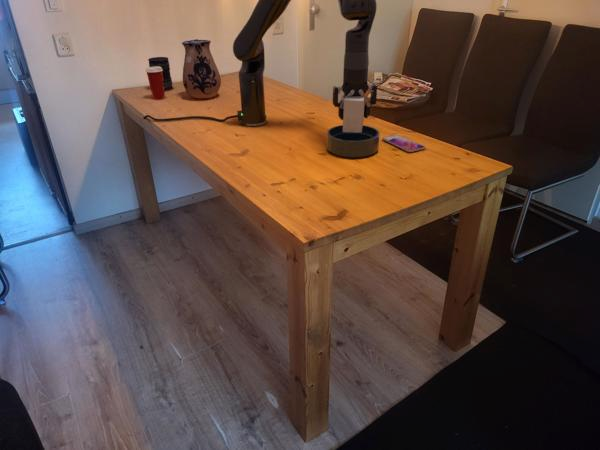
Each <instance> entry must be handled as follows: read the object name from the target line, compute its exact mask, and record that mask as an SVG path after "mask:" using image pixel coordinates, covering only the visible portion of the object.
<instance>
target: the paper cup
mask: <svg viewBox="0 0 600 450" xmlns="http://www.w3.org/2000/svg"><path fill="white" fill-rule="evenodd" d="M162 71H163V70H162V68H161V67H158V66H154V67H149V66H148V67H146V68H145V72H146V76H147V80H148V84H149V88H150V92H151V95H152V100H156V101H158V100H164V99H165V98H166V93H165V92H166V91H164V82H163V73H162Z"/></svg>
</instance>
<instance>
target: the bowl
mask: <svg viewBox="0 0 600 450" xmlns="http://www.w3.org/2000/svg"><path fill="white" fill-rule="evenodd" d="M380 133H381V132H380V131H379V130H378V129H377V128H375V127H373V126H369V125H365V124H363V127H362V133H356V132H343V124H340V125H335V126H332V127H331V128H329V129H328V130H327V131H326V149H327V150H328V151H329V152H330V154H331V153H332V154H333V155H334V156H338V157H340V158H347V159H358V158H359V159H360V158H367V157H370V156H372V155H373V154H375V153H377V152H378V151H379V149H380V148H379V147H380V135H381V134H380Z"/></svg>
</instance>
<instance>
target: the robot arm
mask: <svg viewBox="0 0 600 450" xmlns="http://www.w3.org/2000/svg"><path fill="white" fill-rule="evenodd" d="M291 1H292V0H257V3H256V5H255V7H254V8H253V10H252V12H251V14H250V16H249V18H248V20H247V22H246V23H245V25H244V26H243V27H242V29H241V30H240V32H239V33H238V35H237V36H236V37H235V39H234V40H233V44H232V52H233V56H234V57H235V58H236V59H237V60H238V61H240V62H241V66H240V69H239V70H238V83H239V94H240V106H241V110H236V111H237V114H234V115H230V116H226V117H225V118H217V117H212V116H205V115H203V116H202V115H189V116H188V115H187V116H180V117H168V118H156V117H153V116H152V115H149V114H147V115H145V116H143V119H142V120H146V119H147V118H148V119H150V120H153V121H155V122H169V121H179V120H181V121H182V120H189V119H190V120H191V119H203V120H212V121H216V122H221V123H223V122H226V121H228V120H230V119H235V118H237V122H242V123H241V124H242V126H243V127H259V126H260V127H261V126H263V125H265V124H267V115H266V97H265V96H266V95H265V81H264V72H265V67H266V66H265V65H266V64H265V62H266V61H265V60H266V58H265V45H264V40H263V38H264V36H265V35H266V33H267V32H268V30H270V28H271V27H272V26H273V25H274V24H275V23H276V22H277V21H278V19H279V18H280V17H281V16H282V15H283V14H284V13H285V11H286V10H287V8H288V6H289V5H290V3H291ZM337 4H338V8H339V9H338V10H339V14H340V15H341V17H342V18H343V19H344V20H346V21H350V22H352V21H353V22H354V21H357V23H356V25H355V27H353V28H350V29H347V31H346V32H345V34H344V35H345V36H344V55H343V71H342V72H343V74H342V76H343V77H342V85H341V86H337V85H333V87H332V105H333V106H334V107H335V108H337V109H338V112H337V113H338V114H337V116H338V118H339V119H340V120H341V121H343V114H344V98H345V96H346V98H347V97H355V96H361V97H364V102H365V105H364V119H368V118H369V117H370V115H371V106H373V105H377V99H378V98H377V96H378V95H377V94H378V85H376V84H375V83H372V84H368V80H369V79H368V77H369V65H370V63H369V61H370V59H369V57H370V56H369V46H370V45H369V42H370V41H369V40H370V34H371V31H372V27H373V23H374V20H375V17H376V14H377V7H378V6H377V0H337ZM368 90H369V92H370V100H369V99H368V97H367V96H366V93H367V92H368ZM341 92H342V93H343V95H342V96H341V98H340V101H339V95H340V94H341Z"/></svg>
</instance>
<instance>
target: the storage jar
mask: <svg viewBox="0 0 600 450" xmlns="http://www.w3.org/2000/svg"><path fill="white" fill-rule="evenodd" d="M147 61H148V67H154V66H158V67H161V68H162V70H163V71H162V73H163V82H164V91H165V92H168V91H173V89H174V87H173V80H172V79H173V78H172V75H171V67H170V61H169V57H168V56H156V57H149V58H147Z"/></svg>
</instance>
